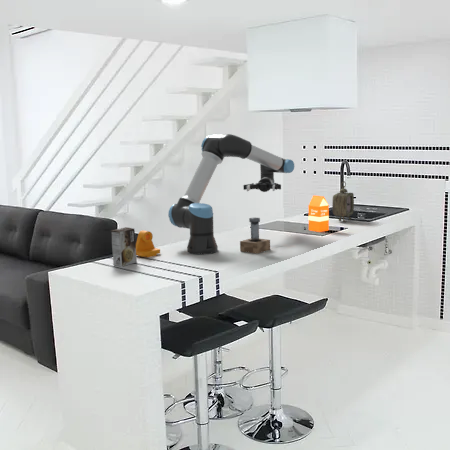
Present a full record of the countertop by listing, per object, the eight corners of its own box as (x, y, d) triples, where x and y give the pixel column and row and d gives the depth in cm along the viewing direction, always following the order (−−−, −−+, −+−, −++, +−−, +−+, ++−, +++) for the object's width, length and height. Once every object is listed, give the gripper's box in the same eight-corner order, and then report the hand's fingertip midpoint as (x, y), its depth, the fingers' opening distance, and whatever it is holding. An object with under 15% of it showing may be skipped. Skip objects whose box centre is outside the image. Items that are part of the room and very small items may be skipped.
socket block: (257, 253, 279) (257, 243, 279) (240, 251, 286) (240, 241, 285) (270, 249, 287) (270, 239, 286) (253, 247, 294) (253, 237, 293)
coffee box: (127, 261, 273) (125, 227, 270) (137, 262, 269) (135, 228, 266) (112, 264, 266) (110, 230, 263) (122, 266, 262) (119, 231, 259)
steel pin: (249, 251, 285) (248, 219, 282) (250, 249, 290) (250, 217, 287) (259, 251, 284) (259, 219, 281) (261, 249, 289) (260, 217, 286)
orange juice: (319, 232, 331) (319, 197, 327) (308, 230, 338) (308, 195, 334) (329, 230, 335) (328, 195, 332) (318, 228, 342) (317, 194, 339)
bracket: (142, 258, 278) (141, 233, 276) (134, 256, 283) (132, 232, 281) (161, 254, 285) (159, 230, 283) (152, 252, 290) (151, 228, 288)
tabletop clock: (345, 223, 357) (345, 182, 353) (331, 222, 362) (331, 182, 358) (353, 219, 369) (353, 180, 365) (340, 218, 374) (340, 180, 370)
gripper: (287, 191, 324) (284, 195, 303) (243, 191, 329) (237, 196, 308) (287, 177, 323) (284, 181, 302) (242, 178, 327) (236, 181, 307)
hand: (260, 188), depth 305 cm, fingers open, 13 cm apart
